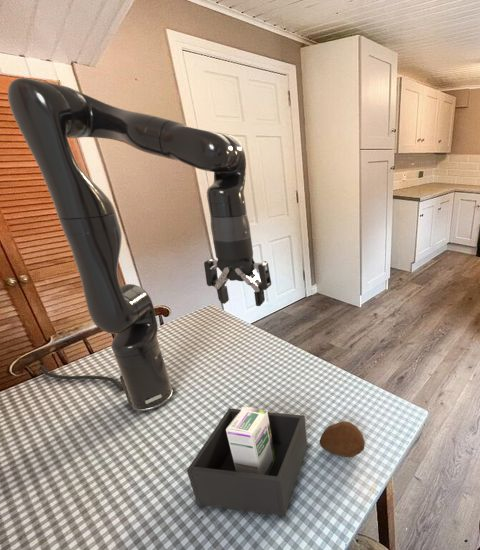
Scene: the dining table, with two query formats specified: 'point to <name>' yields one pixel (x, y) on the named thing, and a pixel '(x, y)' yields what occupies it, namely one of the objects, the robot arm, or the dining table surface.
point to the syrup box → (251, 441)
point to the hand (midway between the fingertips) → (242, 303)
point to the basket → (246, 486)
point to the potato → (342, 439)
